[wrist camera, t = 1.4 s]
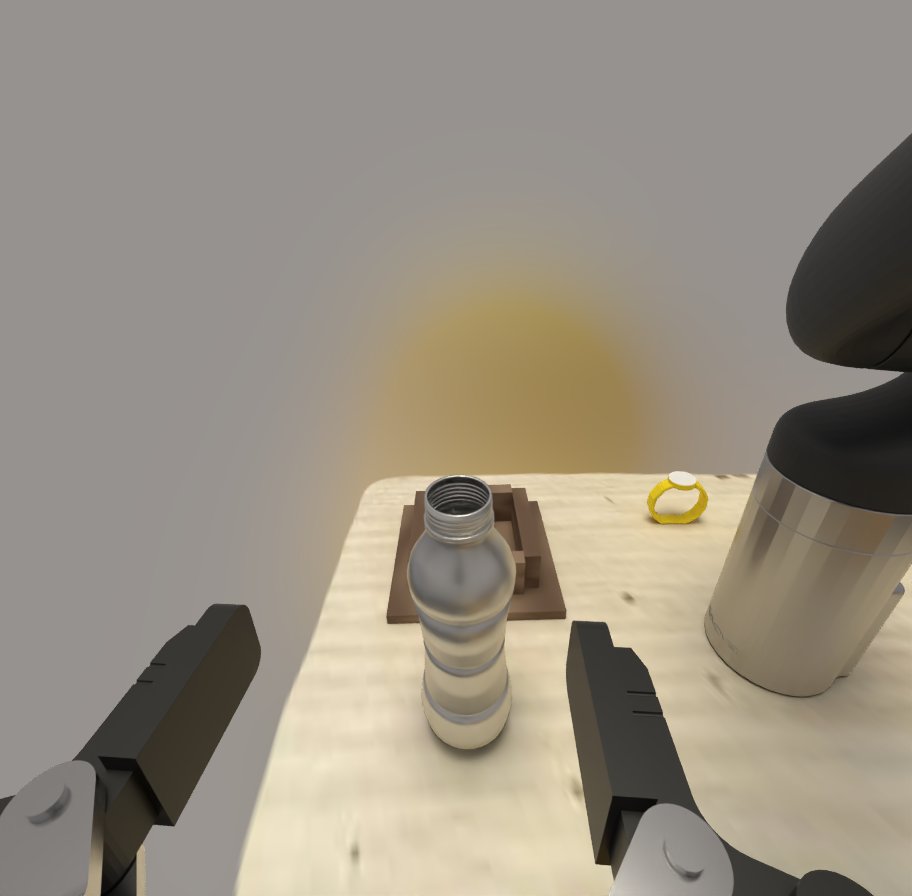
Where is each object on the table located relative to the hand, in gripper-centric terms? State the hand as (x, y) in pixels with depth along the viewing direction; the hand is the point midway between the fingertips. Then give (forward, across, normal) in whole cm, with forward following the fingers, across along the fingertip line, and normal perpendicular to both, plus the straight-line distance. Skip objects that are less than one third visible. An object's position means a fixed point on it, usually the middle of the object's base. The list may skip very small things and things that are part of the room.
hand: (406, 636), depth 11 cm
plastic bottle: (+13, -1, +24) cm, 27 cm away
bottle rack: (+29, 0, +22) cm, 37 cm away
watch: (+36, -23, +22) cm, 48 cm away
